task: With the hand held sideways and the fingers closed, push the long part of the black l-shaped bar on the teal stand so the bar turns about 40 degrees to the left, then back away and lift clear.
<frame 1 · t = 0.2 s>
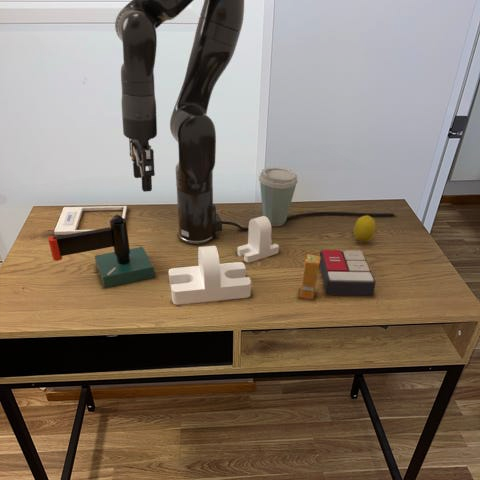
hand: (142, 183, 120), 17 cm above the table, tool pointing down, fingers open, 8 cm apart
black l-shaped bar: (89, 240, 113), point 10 cm above the table, hinge at 0.0°
supplement box: (307, 295, 116), on the table
cable organizer: (257, 253, 130), on the table
photo frame: (92, 221, 141), on the table
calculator: (344, 278, 122), on the table
nozzle stand: (125, 271, 121), on the table
lemon: (361, 242, 135), on the table
white slotted bracket: (209, 289, 117), on the table
disposable coffee cup: (275, 222, 143), on the table
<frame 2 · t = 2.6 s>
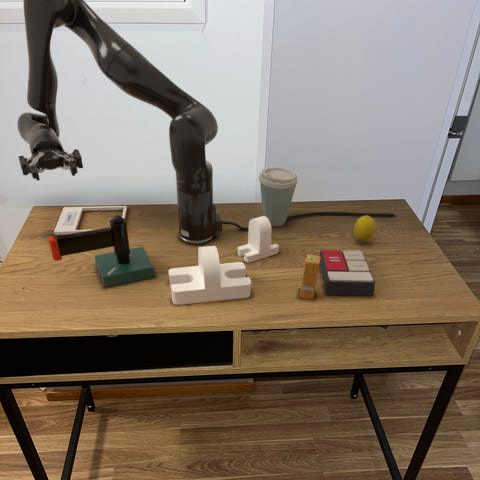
hand: (55, 174, 112), 22 cm above the table, tool horizontal, fingers open, 7 cm apart
nothing on the table moved.
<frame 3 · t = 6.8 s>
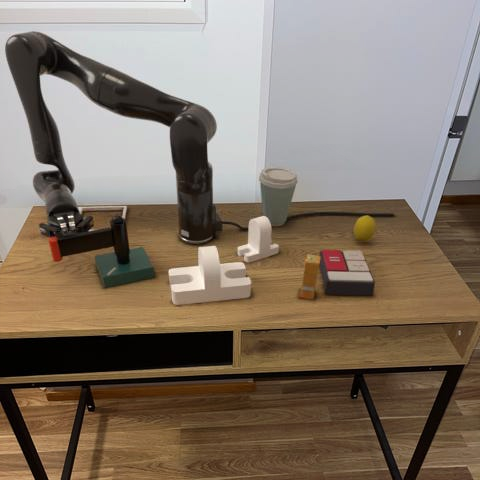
hand: (72, 242, 112), 10 cm above the table, tool horizontal, fingers closed
black l-shaped bar: (89, 240, 113), point 10 cm above the table, hinge at 1.8°, touching gripper
everything else where it was.
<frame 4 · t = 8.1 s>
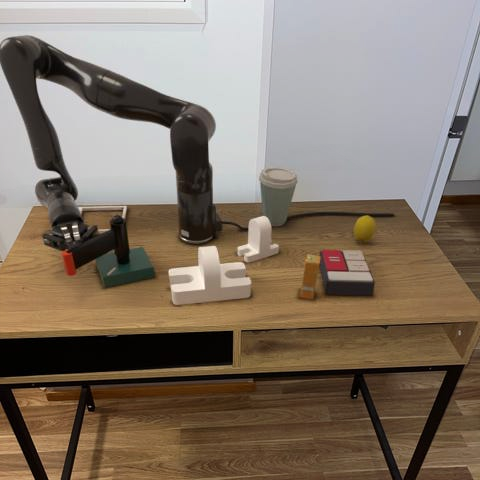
hand: (77, 253, 108), 10 cm above the table, tool horizontal, fingers closed
black l-shaped bar: (96, 246, 111), point 10 cm above the table, hinge at 29.8°, touching gripper
everything else where it was.
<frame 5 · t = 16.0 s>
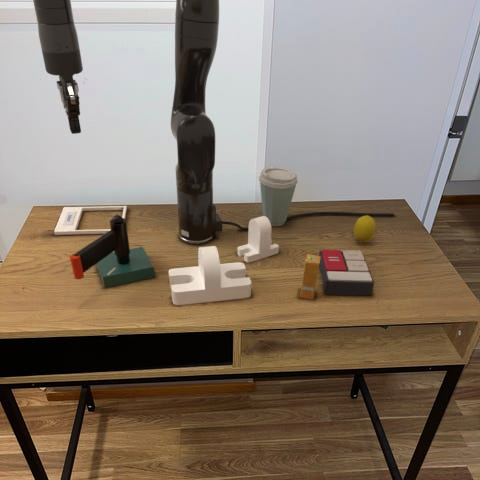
hand: (75, 132, 113), 29 cm above the table, tool pointing down, fingers closed
black l-shaped bar: (100, 248, 110), point 10 cm above the table, hinge at 39.2°
everything else where it was.
at the end: black l-shaped bar at +39° (first picture: +0°) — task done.
